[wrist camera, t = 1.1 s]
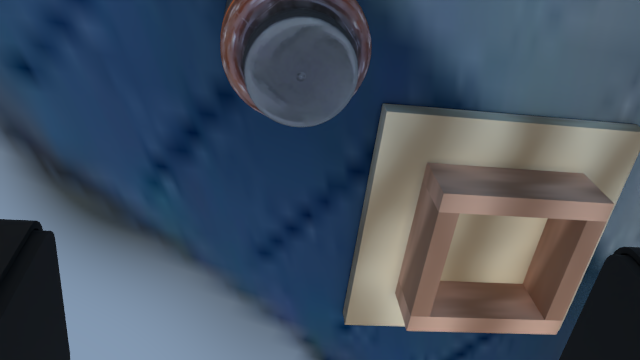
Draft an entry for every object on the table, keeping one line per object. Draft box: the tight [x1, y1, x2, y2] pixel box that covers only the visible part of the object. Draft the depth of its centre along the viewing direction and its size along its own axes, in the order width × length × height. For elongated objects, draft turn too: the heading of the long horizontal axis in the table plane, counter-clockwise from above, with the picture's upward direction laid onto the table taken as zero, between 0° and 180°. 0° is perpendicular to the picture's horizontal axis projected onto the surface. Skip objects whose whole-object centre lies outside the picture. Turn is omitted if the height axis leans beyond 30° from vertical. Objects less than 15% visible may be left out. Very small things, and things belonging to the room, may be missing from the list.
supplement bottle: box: [220, 0, 372, 127], centre depth 24 cm, size 6×6×11 cm
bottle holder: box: [343, 103, 640, 334], centre depth 35 cm, size 16×16×5 cm
